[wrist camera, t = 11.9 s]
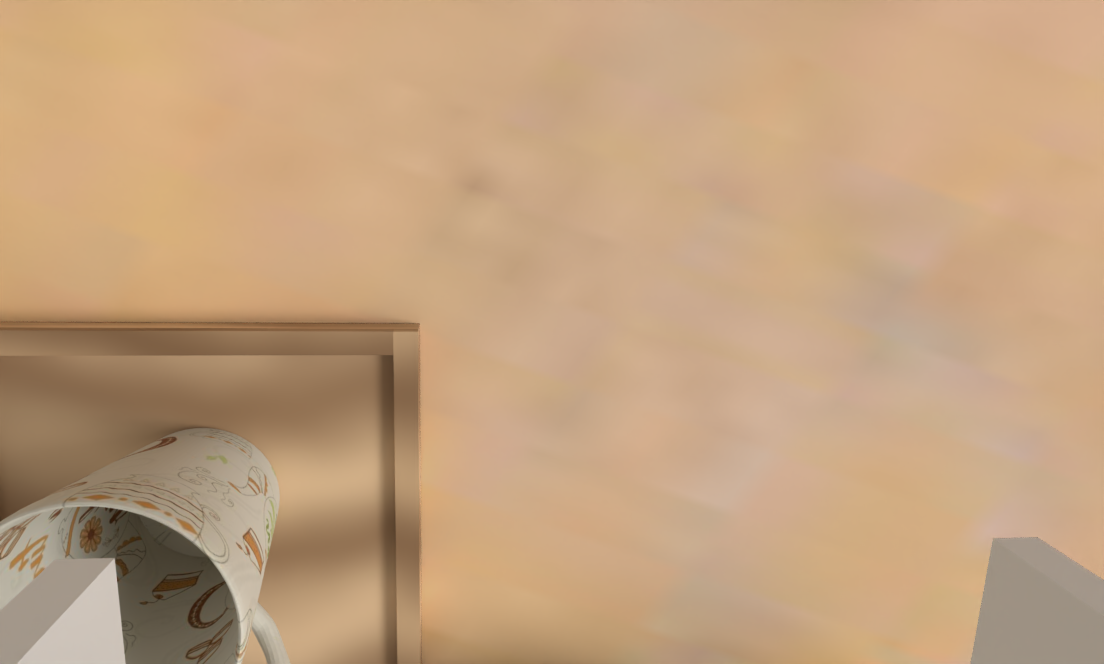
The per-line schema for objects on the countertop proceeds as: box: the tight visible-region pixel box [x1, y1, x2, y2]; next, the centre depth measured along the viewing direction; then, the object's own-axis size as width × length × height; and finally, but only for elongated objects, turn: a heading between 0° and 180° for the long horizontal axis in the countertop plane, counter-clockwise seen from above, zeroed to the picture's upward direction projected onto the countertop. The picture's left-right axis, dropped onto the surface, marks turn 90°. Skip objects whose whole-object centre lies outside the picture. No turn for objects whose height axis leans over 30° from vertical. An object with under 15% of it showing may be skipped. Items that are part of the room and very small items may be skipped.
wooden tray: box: [0, 322, 422, 664], centre depth 31 cm, size 18×18×2 cm
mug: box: [0, 428, 291, 664], centre depth 26 cm, size 8×13×10 cm, turn 30°
